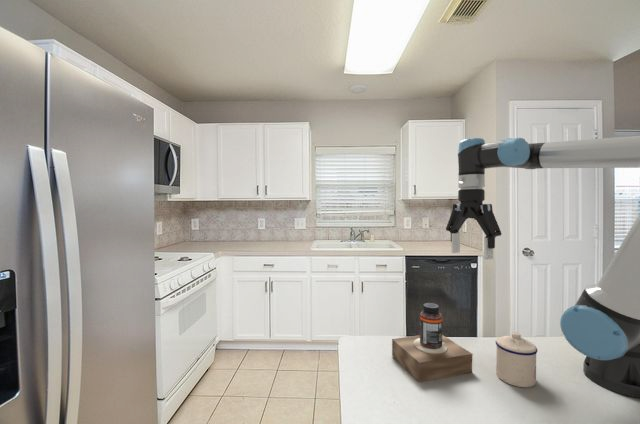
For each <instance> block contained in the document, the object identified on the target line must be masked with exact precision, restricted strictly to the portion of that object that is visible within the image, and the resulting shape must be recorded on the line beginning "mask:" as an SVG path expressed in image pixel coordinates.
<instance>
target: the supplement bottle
mask: <svg viewBox="0 0 640 424" xmlns="http://www.w3.org/2000/svg"><path fill="white" fill-rule="evenodd" d="M422 306H423V309H422V311H421V312H420V313H419V335H420V343H421V345H422V346H424V347H426V348H429V349H438V348H440V347H442V335H443V315H442V313H441V312H440V309H439V304H436V303H432V302H427V303H423V304H422Z"/></svg>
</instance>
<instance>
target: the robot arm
mask: <svg viewBox="0 0 640 424" xmlns="http://www.w3.org/2000/svg"><path fill="white" fill-rule="evenodd" d="M457 160H458V161H457V162H458V164H457V165H458V185H457V186H458V188H459V190H458V192H457V197H458V198H457V201H458V202H460V203H453V204H452V209H451V213H450V216H449V219H448V221H447V225H446V228H445V230H446V231H447V232H449V233H450V243H451V254H453V253H454V254H456V253H457V254H459V253H460V252H461V250H460V249H461V233H460V229H461V228H462V226H463V225H464V223H465V222H466V221H467V219H474V221H476V222H477V223H478V225H479V226H480V228H481V230H482V231H483V234H484V235H485V236H484V238H483V260H487V261H488V260H494V249H495V248H496V238H497V237H500V236H502V230H501V229H500V226H499V224H498V221H497V219H496V216H495V214H494V212H493V211H494V210H493V205H492V203H484V201H485V200H486V199H485V195H486V194H485V193H486V192H485V186H486V184H485V181H486V180H485V179H486V178H485V177H486V176H485V172H486V169H493V168H494V169H495V168H510V169H511V168H512V169H514V168H516V169H525V170H537V169H538V170H539V169H616V168H617V169H619V168H620V169H621V168H623V169H627V168H628V169H629V168H630V169H631V168H633V169H634V168H635V169H636V168H637V169H638V168H640V135H632V136H620V137H619V136H616V137H604V138H591V139H590V138H589V139H580V140H579V139H578V140H564V141H563V140H561V141H551V142H550V141H548V142H534V143H533V142H532V143H528V141H526V139H525V138H523V137H516V138H506V139H502V140H498V141H492V142H486V141H485V139H484V138H482V137H472V138H465V139H463V140H461V141H459V142H458V150H457ZM483 188H484V189H483ZM559 320H560V321H559V325H560V330H561V332H562V334H563V335H564V339H565V340H566V341H567V343H568V344H569V345H570V346H571V347H573V348H574V349H575V350H576V351H578V353H580V354H582V355H583V356H585V358H584V361H583V364H582V365H583V366H582V367H583V368H582V369H583V370H582V371H583V374H584V375H585V376H586V377H587V378H588V379H589V380H590V381H592V382H594V383H596V384H598V385H599V386H601V387H603V388H606V389H607V390H610V391H613V392H615V393H618V394H622V395H624V396H629V397H633V398H637V399H640V213H639V214H638V216H637V217H636V219H635V221H634V222H633V223H632V226H631V227H630V229H629V230H628V232H627V235H626V236H625V237H624V239H623V241H622V242H621V244H620V246H619V247H618V249H617V251H616V252H615V254H614V256H613V257H612V259H611V261H610V263H609V264H608V266H607V267H606V269H605V270H604V273H603V275H602V276H601V278H600V279H599V281H598V282H597V283H594V284H588V285H586V286H585V288H584V289H583V291H582V293H581V294H580V295H579V298H578V300H577V301H576V302H575V304H574V305H572V306H569V308H567V309H566V310H565V311H563V313H562V314H561V316H560V319H559Z"/></svg>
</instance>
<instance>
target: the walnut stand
mask: <svg viewBox="0 0 640 424" xmlns="http://www.w3.org/2000/svg"><path fill="white" fill-rule="evenodd" d="M391 346H392V347H391V355H392V357H393V358H394V359H395V360H396V361H397V362H398V363H399V364H400V365H401V366H402V367H403V368H404V369H405V370H406V371H407V372H408V373H409V374H410V375H412V376H413V377H414V378H415V380H416V381H417V382H419V383H423V382H427V381H431V380H438V379H439V380H440V379H443V378H448V377H454V376H460V375H465V374H470V373H473V353H472V352H470V351H469V350H467V349H466V348H464V347H462V346H461V345H459V344H458V343H456V342H454V341H453V340H451V339H450V338H448V337H447V336H445V335H443V334H442V347H440V348H438V349H429V348H426V347H424V346H422V345H421V343H420V334H417V335H412V336H411V335H410V336H405V337H398V338H392V340H391Z"/></svg>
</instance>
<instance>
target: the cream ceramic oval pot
mask: <svg viewBox="0 0 640 424" xmlns="http://www.w3.org/2000/svg"><path fill="white" fill-rule="evenodd" d="M495 345H496V351H495V352H496V356H495V357H496V358H495V360H496V366H495V367H496V368H495V371H496V376H497V377H498V378H499V379H500V380H501V381H502V382H504V383H506V384H509V385H511V386H515V387H519V388H531V387H534V386H535V385H536V383H537V382H536V381H537V380H536V379H537V353H538V347H537V346H536V345H535V344H534V343H533V342H532V341H530V340H527V339H525V338H524V337H522V335H521V334H520V333H519V332H511V334H510V335H503V336H499V337H497V338H496V340H495Z"/></svg>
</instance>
